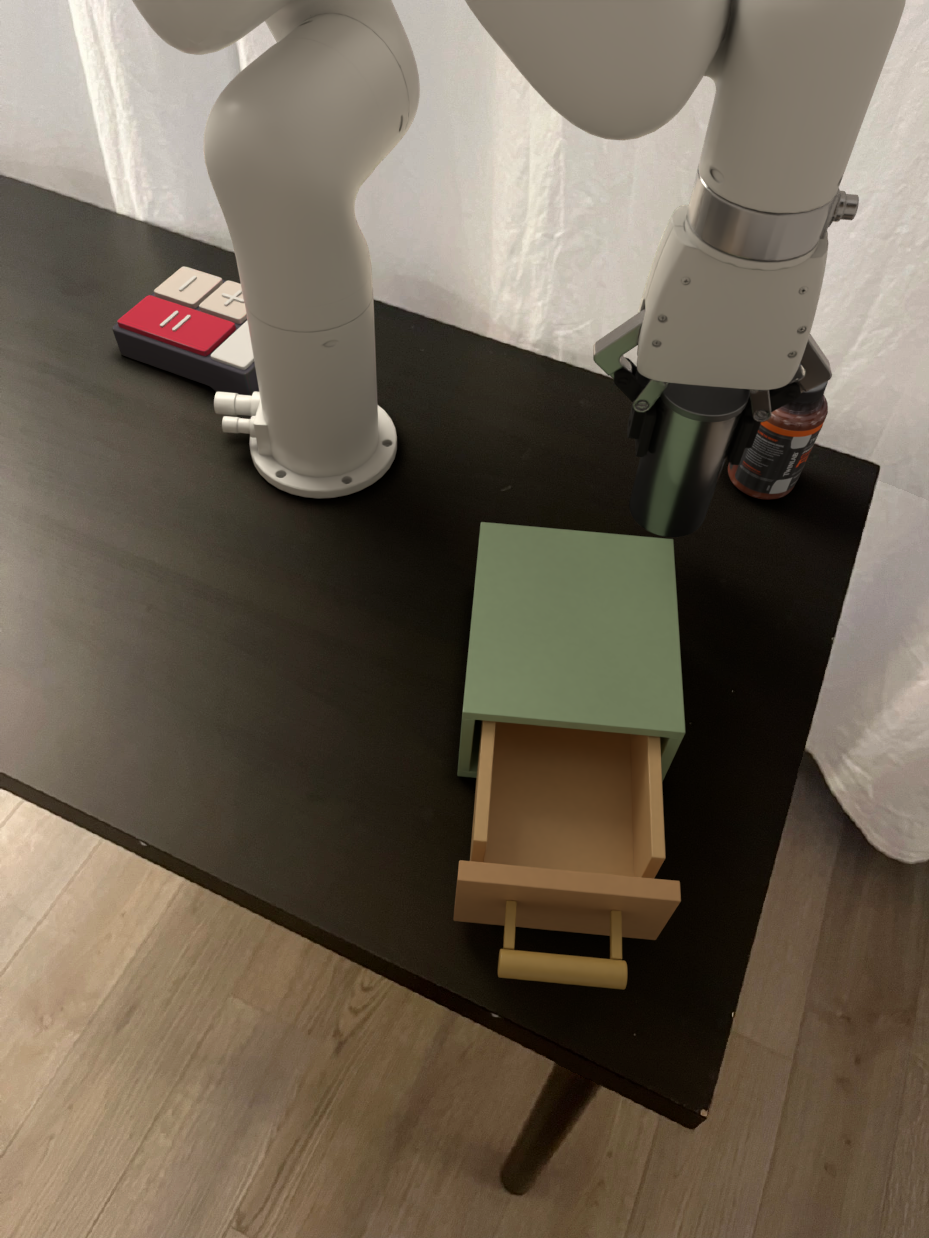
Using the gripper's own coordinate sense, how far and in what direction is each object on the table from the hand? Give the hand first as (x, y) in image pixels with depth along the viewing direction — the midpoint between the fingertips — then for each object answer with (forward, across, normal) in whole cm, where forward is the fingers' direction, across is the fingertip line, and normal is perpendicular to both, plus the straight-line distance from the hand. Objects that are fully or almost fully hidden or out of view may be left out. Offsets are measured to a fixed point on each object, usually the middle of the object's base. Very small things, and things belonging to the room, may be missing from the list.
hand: (686, 445), depth 67 cm
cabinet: (+12, +7, +13) cm, 20 cm away
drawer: (+11, +7, +26) cm, 30 cm away
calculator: (+12, +40, -21) cm, 47 cm away
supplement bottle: (+12, -10, -10) cm, 19 cm away
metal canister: (+7, 0, 0) cm, 7 cm away
